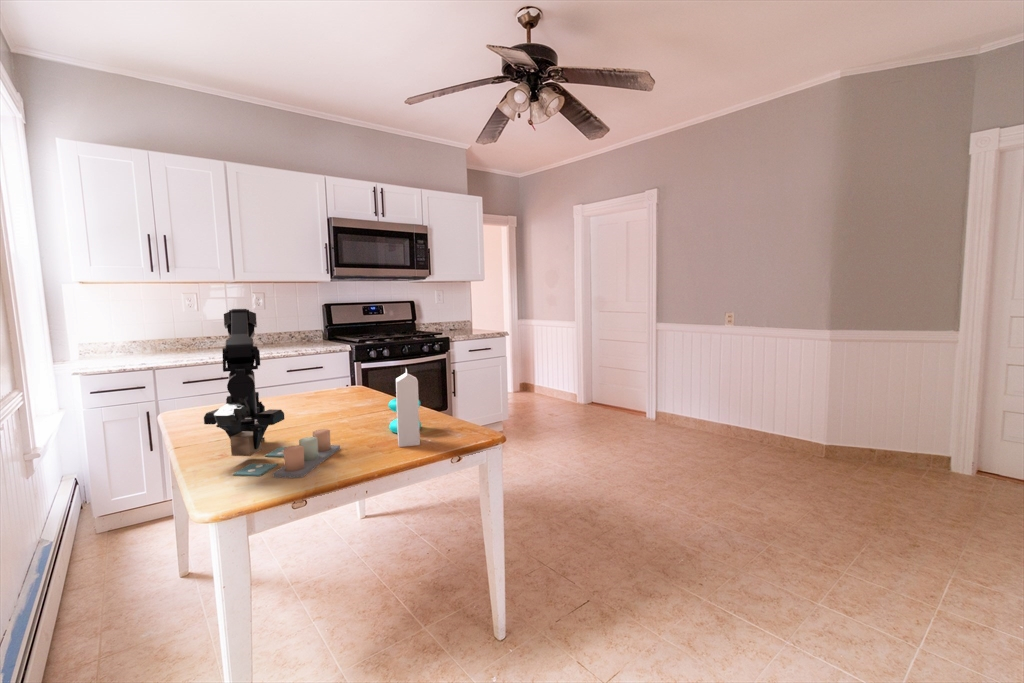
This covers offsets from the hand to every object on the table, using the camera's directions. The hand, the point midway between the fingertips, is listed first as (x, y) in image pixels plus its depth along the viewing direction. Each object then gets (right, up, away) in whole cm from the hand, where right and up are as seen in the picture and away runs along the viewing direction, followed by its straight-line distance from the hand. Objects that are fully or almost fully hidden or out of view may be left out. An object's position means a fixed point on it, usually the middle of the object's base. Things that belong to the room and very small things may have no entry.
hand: (246, 448), depth 122 cm
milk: (+40, -2, +14) cm, 42 cm away
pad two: (+6, -4, -7) cm, 10 cm away
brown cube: (0, -1, 0) cm, 1 cm away
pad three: (+7, -3, +6) cm, 10 cm away
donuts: (+36, -1, +27) cm, 45 cm away
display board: (+17, -3, -1) cm, 17 cm away
